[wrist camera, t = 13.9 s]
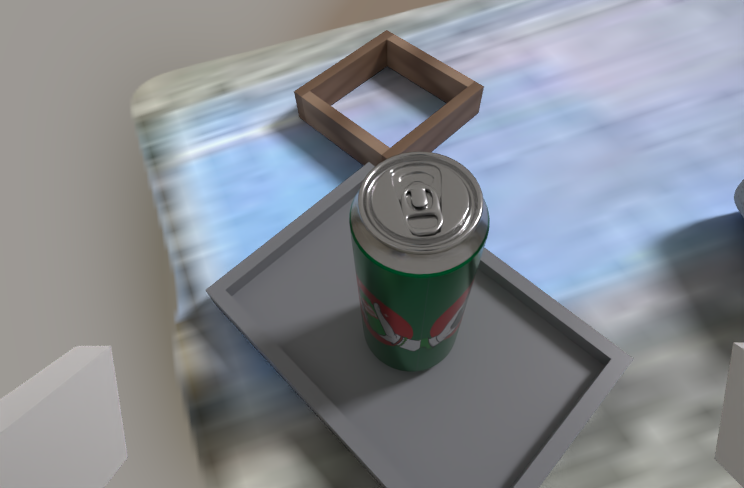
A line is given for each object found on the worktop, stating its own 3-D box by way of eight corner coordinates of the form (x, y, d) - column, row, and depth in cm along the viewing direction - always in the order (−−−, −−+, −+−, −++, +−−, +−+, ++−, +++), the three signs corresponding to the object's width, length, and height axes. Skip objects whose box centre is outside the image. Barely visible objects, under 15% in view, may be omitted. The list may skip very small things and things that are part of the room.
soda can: (447, 284, 28) (478, 136, 18) (463, 370, 26) (511, 253, 15) (360, 293, 28) (342, 149, 18) (367, 379, 26) (351, 268, 15)
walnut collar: (478, 112, 37) (483, 86, 35) (390, 185, 34) (390, 161, 31) (386, 57, 41) (386, 30, 39) (299, 117, 37) (294, 91, 35)
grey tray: (618, 370, 26) (634, 358, 25) (464, 576, 22) (470, 579, 20) (369, 181, 34) (368, 161, 32) (216, 305, 29) (205, 290, 28)
